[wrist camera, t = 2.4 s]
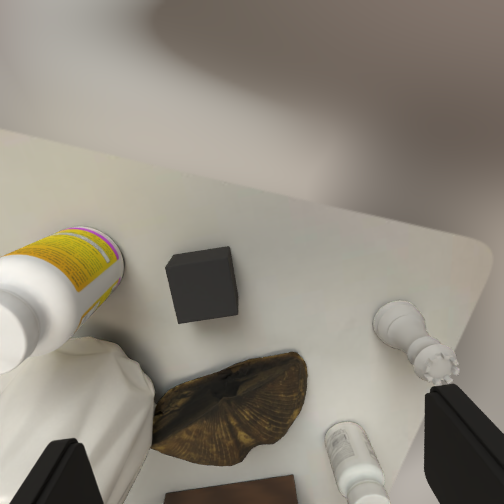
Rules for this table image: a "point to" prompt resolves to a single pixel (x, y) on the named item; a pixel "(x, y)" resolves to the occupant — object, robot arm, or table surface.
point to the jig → (240, 493)
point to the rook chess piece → (415, 341)
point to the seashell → (231, 410)
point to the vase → (77, 414)
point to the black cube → (203, 285)
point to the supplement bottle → (53, 291)
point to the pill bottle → (355, 465)
